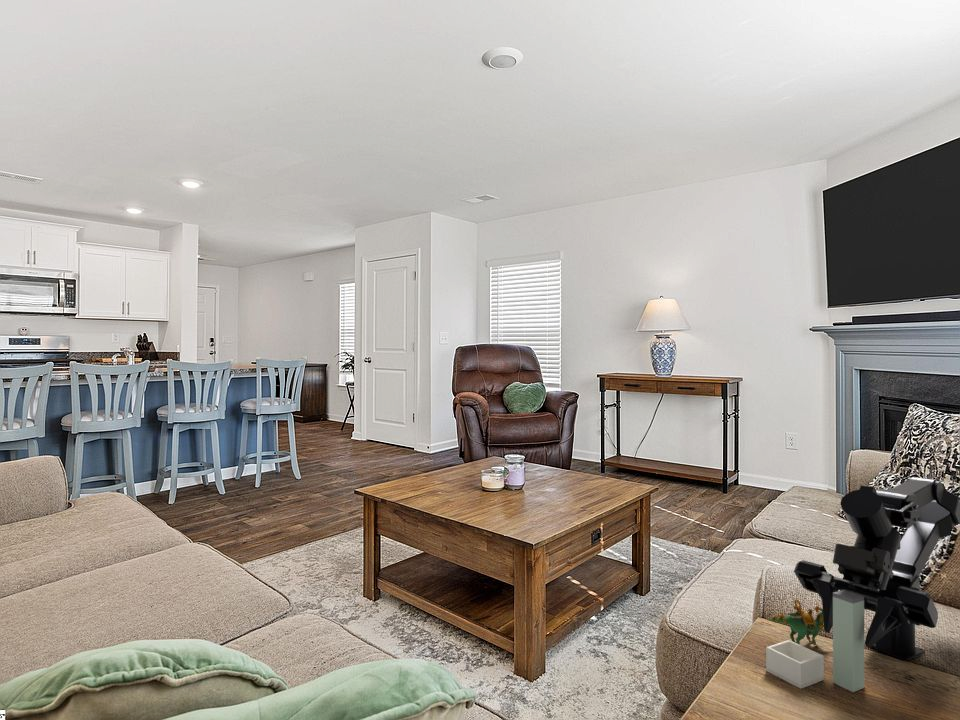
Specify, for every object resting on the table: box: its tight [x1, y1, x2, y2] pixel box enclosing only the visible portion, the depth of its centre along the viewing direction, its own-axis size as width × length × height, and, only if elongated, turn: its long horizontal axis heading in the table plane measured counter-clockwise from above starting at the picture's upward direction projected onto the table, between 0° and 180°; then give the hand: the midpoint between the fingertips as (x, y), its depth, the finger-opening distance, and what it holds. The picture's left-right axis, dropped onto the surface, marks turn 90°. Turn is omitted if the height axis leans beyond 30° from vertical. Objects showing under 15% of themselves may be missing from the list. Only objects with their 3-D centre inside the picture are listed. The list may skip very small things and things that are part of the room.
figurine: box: [767, 598, 826, 647], centre depth 99 cm, size 3×12×8 cm, turn 96°
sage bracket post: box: [832, 590, 865, 693], centre depth 87 cm, size 3×3×14 cm
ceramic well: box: [765, 639, 825, 689], centre depth 89 cm, size 6×6×4 cm
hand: (846, 638), depth 86 cm, fingers open, 5 cm apart
